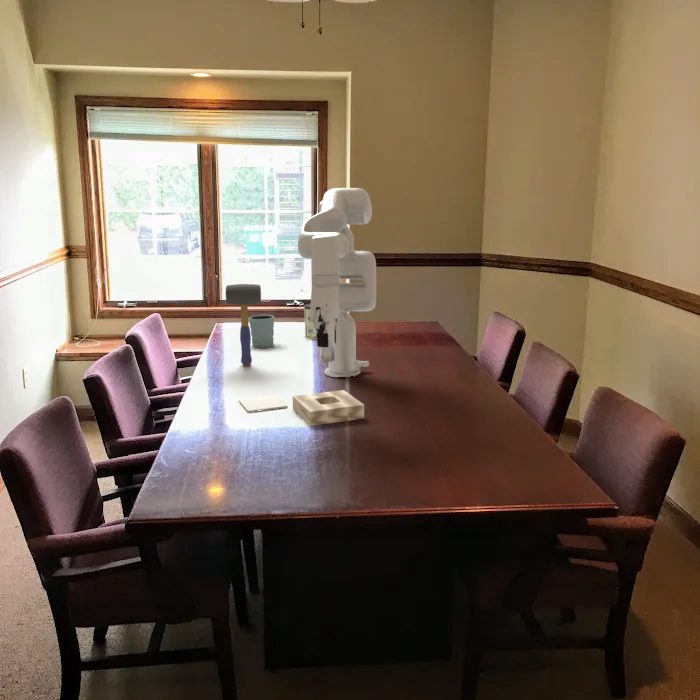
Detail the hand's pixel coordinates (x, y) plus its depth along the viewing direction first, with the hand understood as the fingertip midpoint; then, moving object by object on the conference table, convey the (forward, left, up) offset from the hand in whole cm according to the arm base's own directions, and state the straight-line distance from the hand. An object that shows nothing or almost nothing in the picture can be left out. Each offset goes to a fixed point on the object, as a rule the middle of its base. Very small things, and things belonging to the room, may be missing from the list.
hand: (326, 344), depth 199 cm
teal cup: (-6, -95, -21) cm, 97 cm away
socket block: (0, 0, -20) cm, 20 cm away
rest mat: (+15, -16, -20) cm, 30 cm away
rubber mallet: (+8, -65, -21) cm, 69 cm away
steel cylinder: (0, 0, -5) cm, 5 cm away
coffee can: (-32, -102, -21) cm, 109 cm away
